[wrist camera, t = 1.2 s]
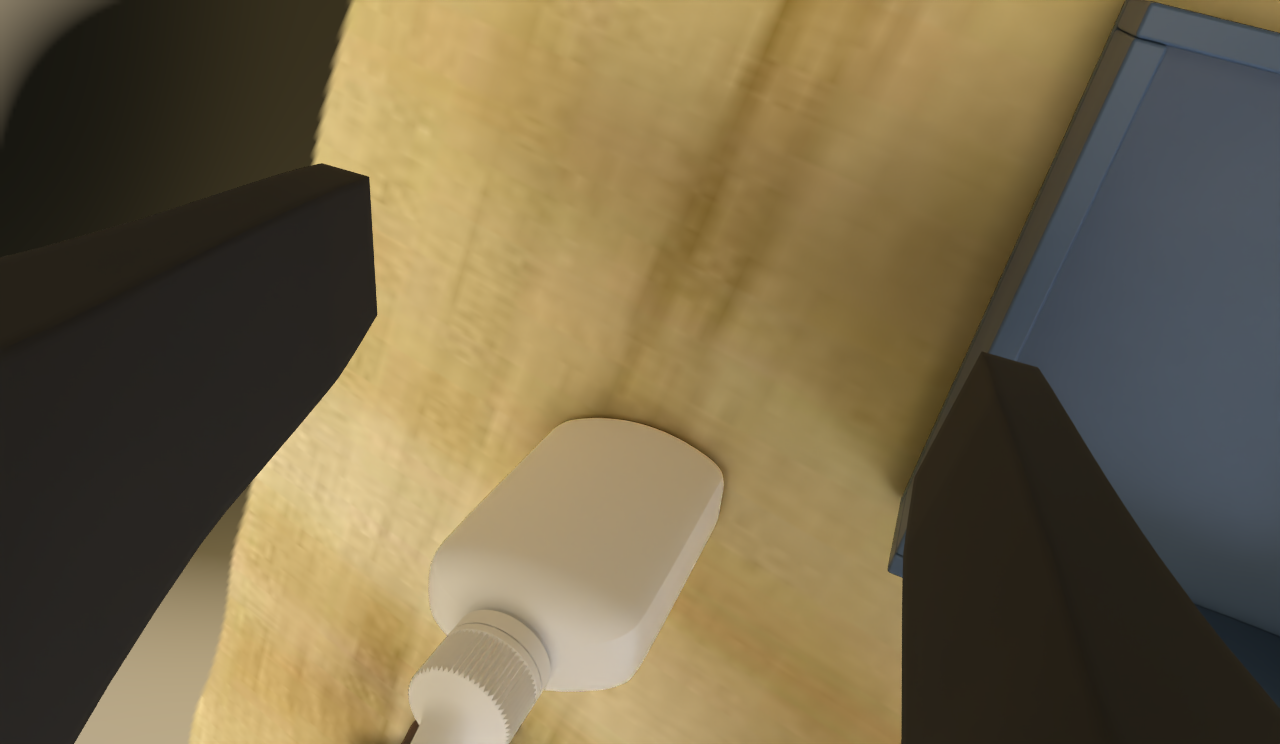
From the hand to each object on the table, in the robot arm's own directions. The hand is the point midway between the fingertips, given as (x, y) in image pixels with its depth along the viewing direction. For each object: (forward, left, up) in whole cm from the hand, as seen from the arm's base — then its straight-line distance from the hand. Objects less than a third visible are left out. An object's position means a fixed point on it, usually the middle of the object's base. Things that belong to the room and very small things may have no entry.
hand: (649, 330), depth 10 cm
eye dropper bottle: (-11, +3, -13) cm, 17 cm away
